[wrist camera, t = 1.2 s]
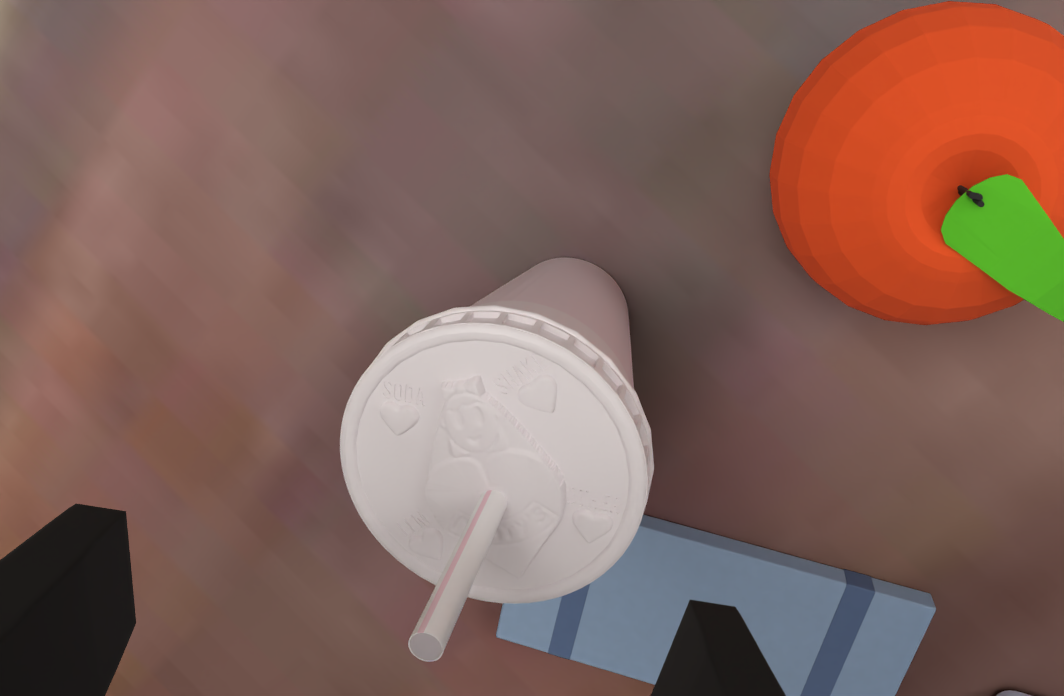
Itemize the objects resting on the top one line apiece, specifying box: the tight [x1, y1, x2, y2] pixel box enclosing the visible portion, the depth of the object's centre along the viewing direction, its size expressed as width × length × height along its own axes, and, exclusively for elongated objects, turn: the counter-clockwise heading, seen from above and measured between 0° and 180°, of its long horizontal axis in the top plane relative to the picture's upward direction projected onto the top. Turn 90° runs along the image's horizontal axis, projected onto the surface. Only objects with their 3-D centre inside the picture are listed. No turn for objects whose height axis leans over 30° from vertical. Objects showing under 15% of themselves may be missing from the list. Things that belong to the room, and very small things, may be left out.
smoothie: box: [340, 257, 654, 662], centre depth 19 cm, size 6×6×14 cm
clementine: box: [770, 1, 1064, 325], centre depth 19 cm, size 8×7×7 cm
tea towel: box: [496, 515, 936, 696], centre depth 28 cm, size 6×13×1 cm, turn 79°
